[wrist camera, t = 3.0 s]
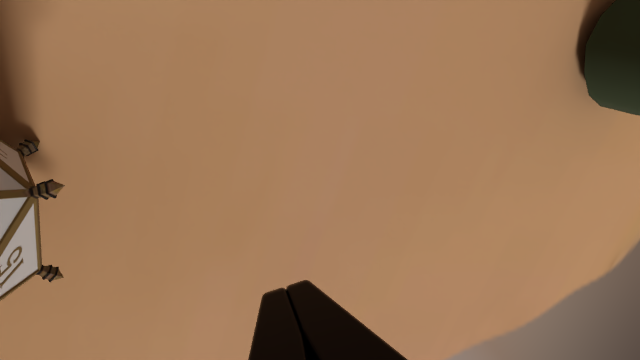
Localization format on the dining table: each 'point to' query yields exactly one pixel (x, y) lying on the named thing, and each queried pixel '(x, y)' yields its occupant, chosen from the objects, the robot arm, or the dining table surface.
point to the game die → (21, 219)
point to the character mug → (615, 58)
